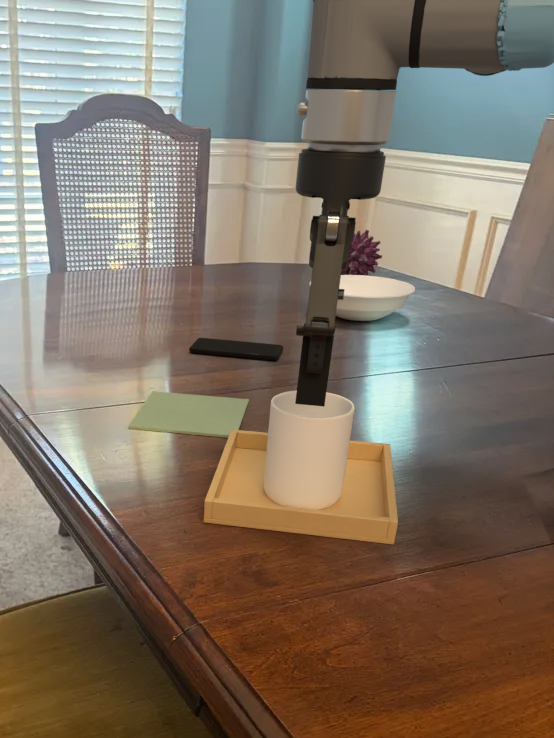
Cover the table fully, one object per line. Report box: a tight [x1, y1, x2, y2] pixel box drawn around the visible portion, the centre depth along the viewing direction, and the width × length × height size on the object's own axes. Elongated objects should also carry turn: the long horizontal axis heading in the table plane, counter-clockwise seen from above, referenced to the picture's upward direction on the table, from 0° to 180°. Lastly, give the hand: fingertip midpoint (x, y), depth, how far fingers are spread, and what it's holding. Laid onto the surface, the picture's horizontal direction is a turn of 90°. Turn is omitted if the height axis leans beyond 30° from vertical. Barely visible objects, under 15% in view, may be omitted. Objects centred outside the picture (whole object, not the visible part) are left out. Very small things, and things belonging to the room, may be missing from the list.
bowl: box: [308, 275, 416, 322], centre depth 149 cm, size 20×20×6 cm
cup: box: [264, 390, 356, 510], centre depth 81 cm, size 8×12×10 cm
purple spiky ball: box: [341, 229, 383, 276], centre depth 179 cm, size 12×12×12 cm
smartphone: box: [188, 337, 284, 361], centre depth 130 cm, size 7×1×15 cm
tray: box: [203, 429, 399, 545], centre depth 84 cm, size 19×20×2 cm
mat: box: [128, 390, 250, 439], centre depth 104 cm, size 14×14×1 cm
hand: (313, 381), depth 78 cm, fingers open, 13 cm apart
